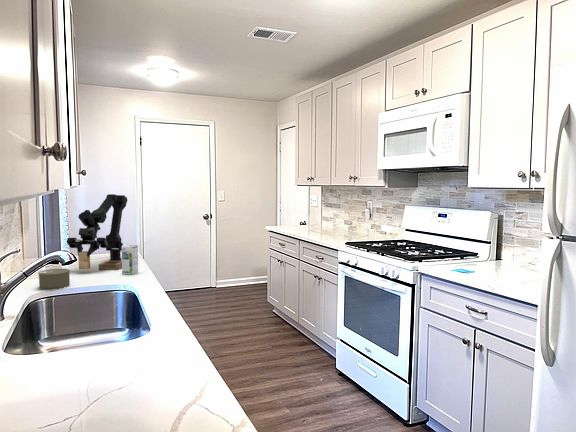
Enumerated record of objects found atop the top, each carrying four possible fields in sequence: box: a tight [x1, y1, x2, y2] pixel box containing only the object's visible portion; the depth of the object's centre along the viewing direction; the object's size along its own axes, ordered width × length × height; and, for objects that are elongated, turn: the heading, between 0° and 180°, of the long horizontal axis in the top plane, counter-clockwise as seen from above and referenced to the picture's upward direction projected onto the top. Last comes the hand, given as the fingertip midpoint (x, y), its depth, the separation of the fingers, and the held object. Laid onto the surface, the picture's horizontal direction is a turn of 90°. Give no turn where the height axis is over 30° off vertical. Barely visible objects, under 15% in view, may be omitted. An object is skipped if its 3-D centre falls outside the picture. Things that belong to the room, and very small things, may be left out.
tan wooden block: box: [77, 250, 91, 270], centre depth 206 cm, size 4×4×8 cm
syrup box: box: [121, 244, 139, 276], centre depth 205 cm, size 6×6×14 cm
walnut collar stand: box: [98, 260, 122, 271], centre depth 219 cm, size 10×10×3 cm
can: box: [38, 268, 71, 291], centre depth 179 cm, size 12×12×7 cm
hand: (83, 256), depth 204 cm, fingers closed on tan wooden block, 4 cm apart
